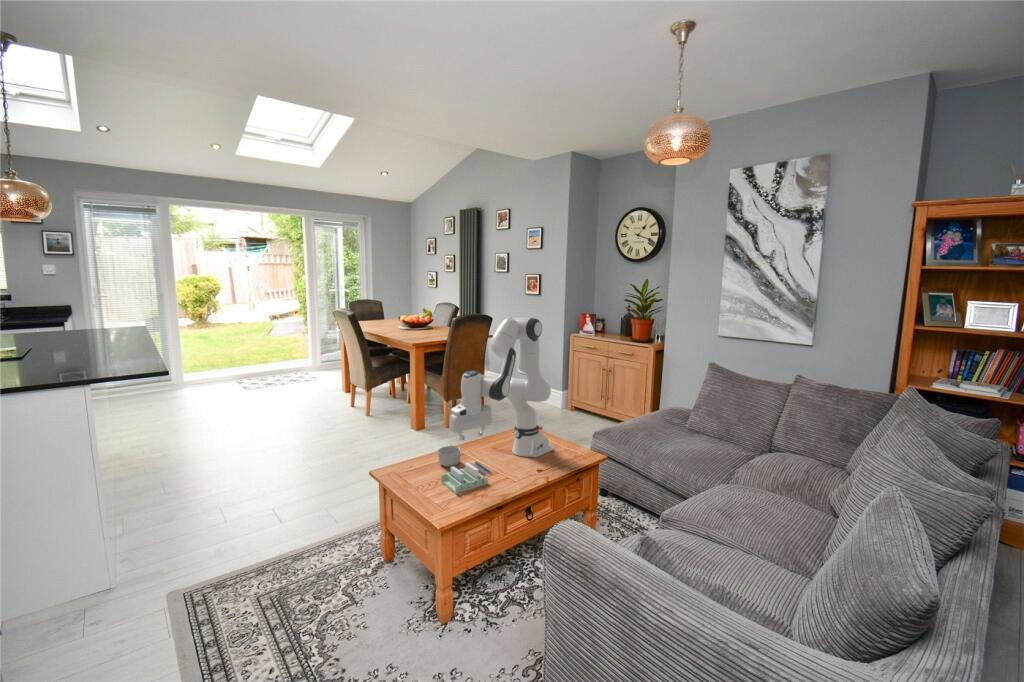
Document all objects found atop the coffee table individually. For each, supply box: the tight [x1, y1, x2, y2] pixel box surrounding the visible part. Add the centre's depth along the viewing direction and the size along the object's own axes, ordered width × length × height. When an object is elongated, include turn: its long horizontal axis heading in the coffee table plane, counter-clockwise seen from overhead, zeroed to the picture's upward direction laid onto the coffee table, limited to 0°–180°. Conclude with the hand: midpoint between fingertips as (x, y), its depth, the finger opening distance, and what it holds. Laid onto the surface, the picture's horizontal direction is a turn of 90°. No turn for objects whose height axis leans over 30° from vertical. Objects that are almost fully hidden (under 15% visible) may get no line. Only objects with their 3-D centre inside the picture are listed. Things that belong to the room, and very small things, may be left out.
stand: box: [469, 460, 492, 476], centre depth 217 cm, size 5×13×2 cm, turn 35°
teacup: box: [437, 444, 461, 468], centre depth 224 cm, size 14×11×8 cm
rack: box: [440, 466, 489, 495], centre depth 203 cm, size 16×14×7 cm
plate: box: [464, 462, 480, 480], centre depth 205 cm, size 2×9×6 cm, turn 35°
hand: (471, 437), depth 202 cm, fingers open, 8 cm apart
